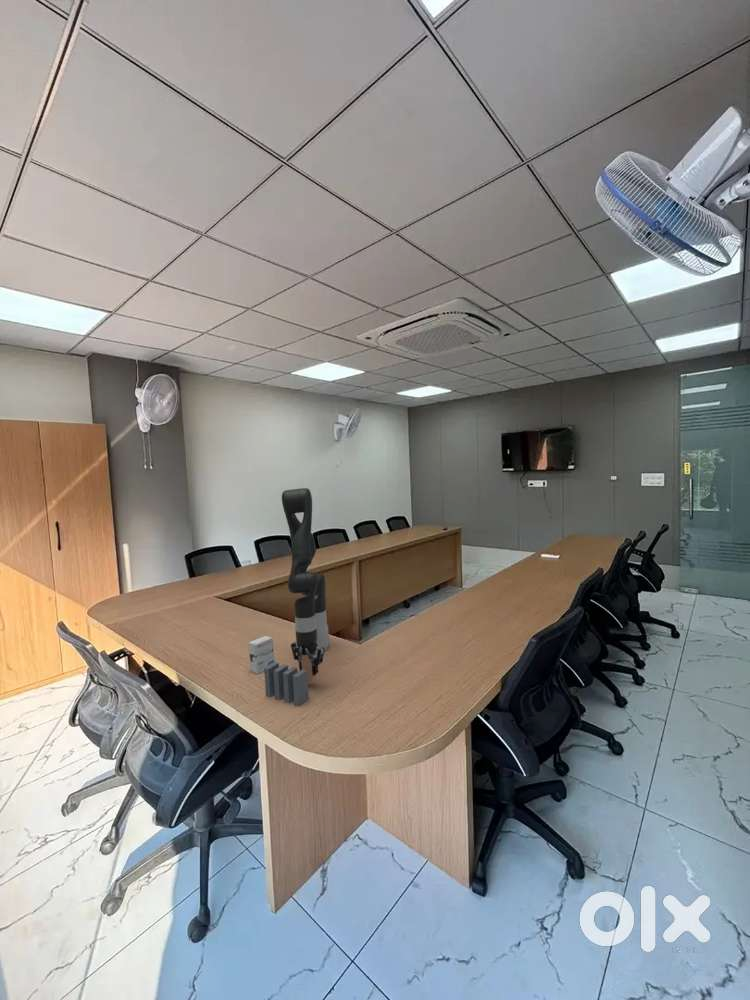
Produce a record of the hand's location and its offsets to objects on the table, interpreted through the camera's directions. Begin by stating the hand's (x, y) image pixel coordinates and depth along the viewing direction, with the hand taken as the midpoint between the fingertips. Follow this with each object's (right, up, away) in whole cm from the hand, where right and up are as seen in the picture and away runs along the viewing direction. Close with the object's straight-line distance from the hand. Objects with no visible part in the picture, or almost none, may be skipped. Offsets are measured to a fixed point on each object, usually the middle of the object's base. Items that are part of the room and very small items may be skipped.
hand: (308, 672), depth 147 cm
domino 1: (-12, -6, -4) cm, 14 cm away
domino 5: (0, -2, 0) cm, 2 cm away
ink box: (-21, -5, +15) cm, 27 cm away
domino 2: (-8, -6, -6) cm, 12 cm away
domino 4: (-1, -6, -10) cm, 11 cm away
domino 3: (-5, -6, -8) cm, 11 cm away
